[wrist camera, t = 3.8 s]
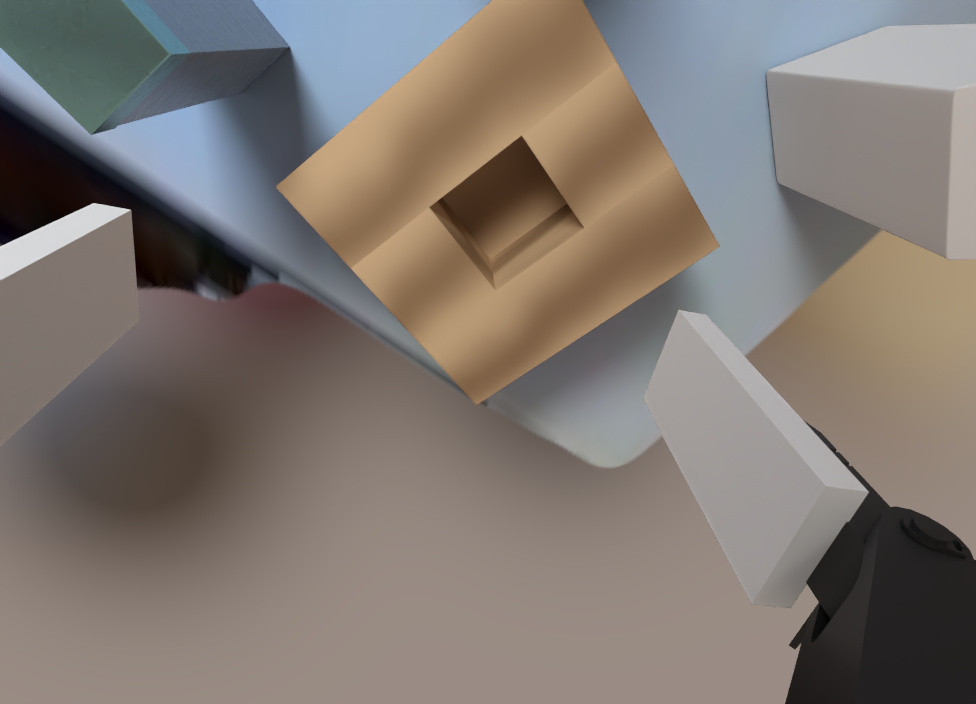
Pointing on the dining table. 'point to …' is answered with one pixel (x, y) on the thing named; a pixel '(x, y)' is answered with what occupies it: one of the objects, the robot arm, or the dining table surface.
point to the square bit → (137, 53)
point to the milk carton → (885, 131)
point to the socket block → (504, 194)
